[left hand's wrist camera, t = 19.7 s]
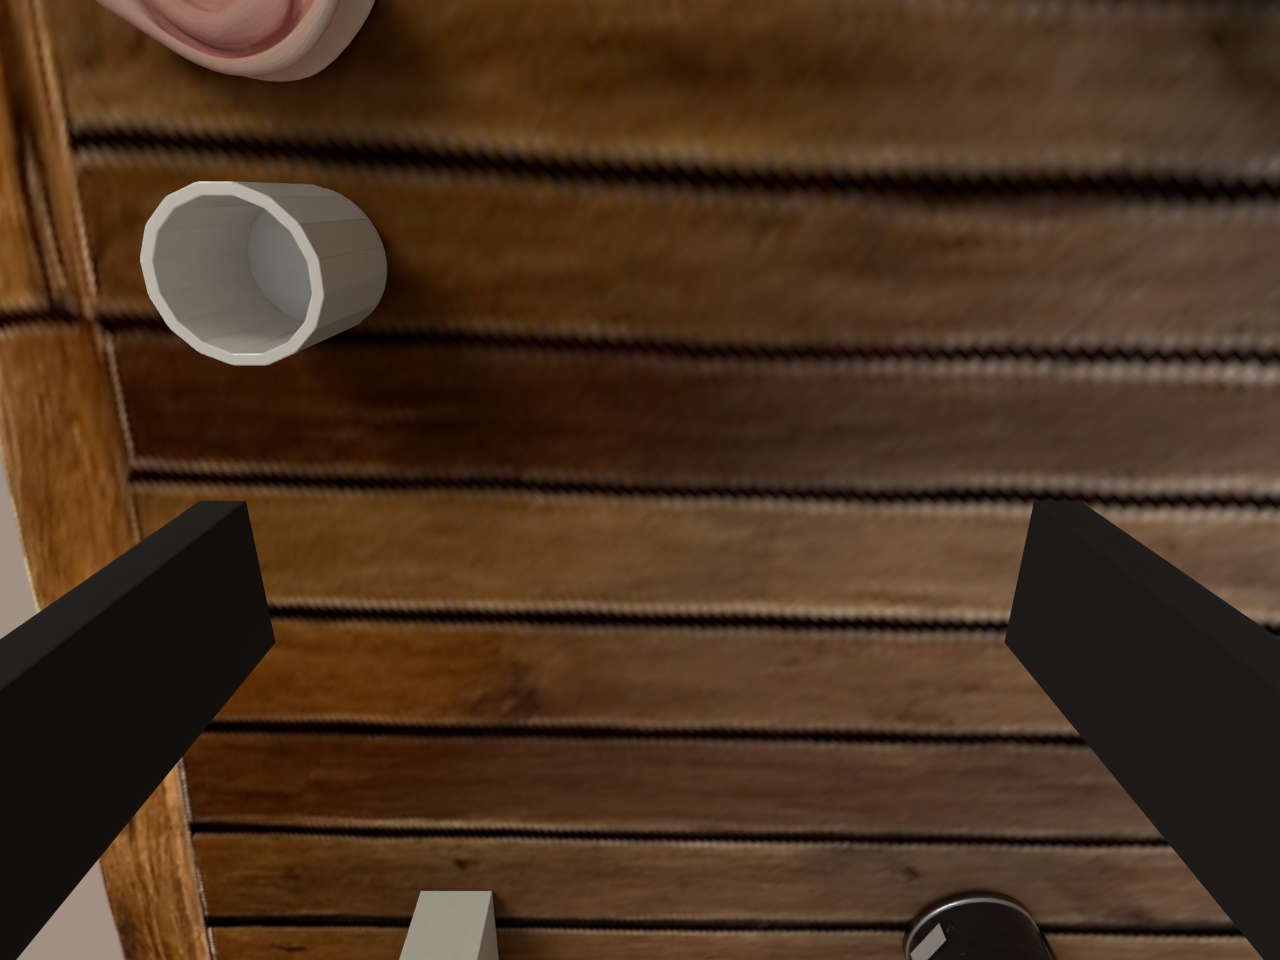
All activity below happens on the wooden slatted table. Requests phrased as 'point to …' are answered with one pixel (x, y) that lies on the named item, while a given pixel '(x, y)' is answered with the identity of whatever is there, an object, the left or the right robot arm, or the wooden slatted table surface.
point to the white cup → (261, 267)
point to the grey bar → (452, 927)
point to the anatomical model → (250, 32)
